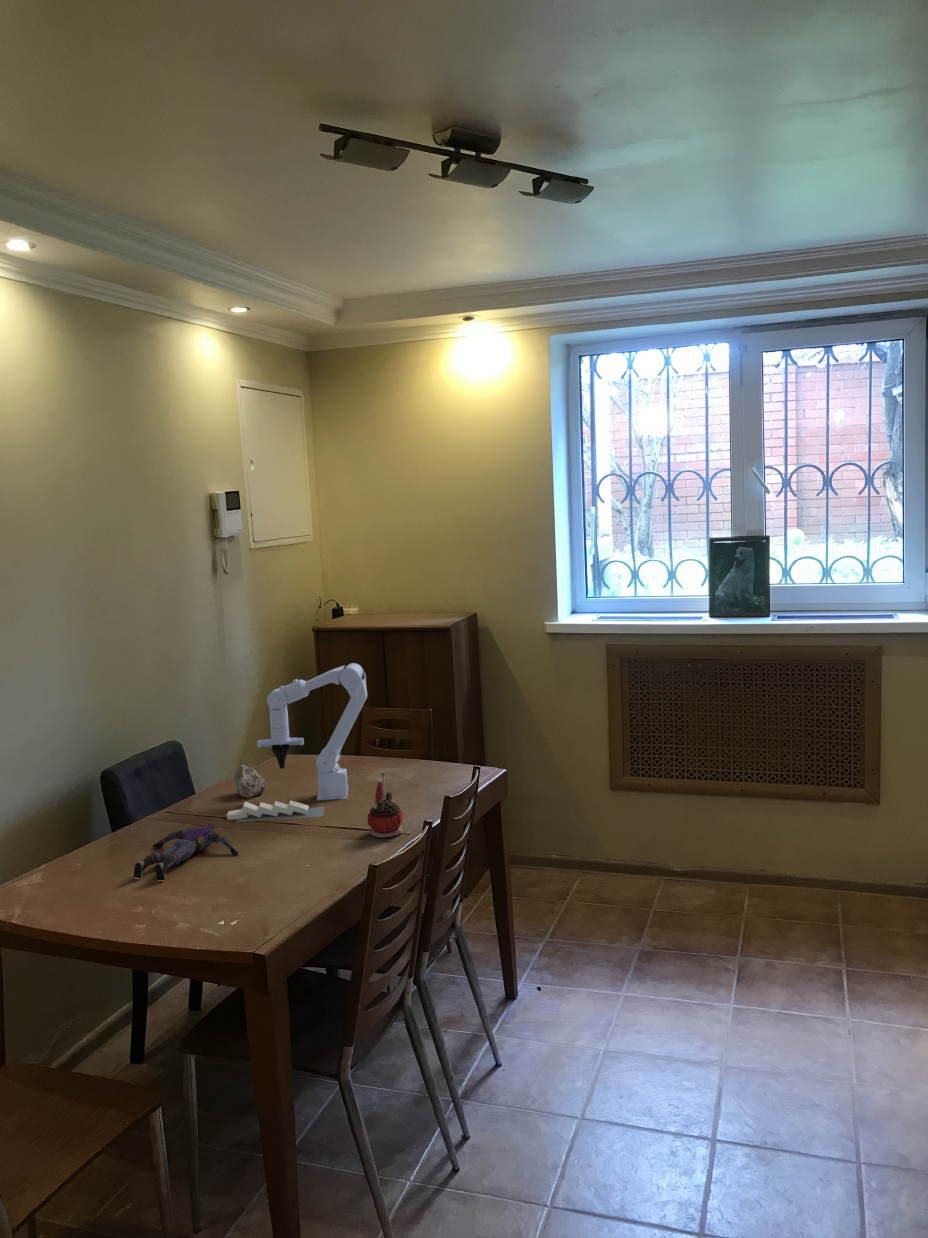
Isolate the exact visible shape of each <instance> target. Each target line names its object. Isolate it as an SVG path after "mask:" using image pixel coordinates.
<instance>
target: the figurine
mask: <svg viewBox="0 0 928 1238" xmlns="http://www.w3.org/2000/svg"><path fill="white" fill-rule="evenodd" d="M174 839H175V841H174V843H173V844H172V845H171V846H170V847H168V848H166V849H165V850H163V851H159V852H152V853H150V854H148V855H147V856H145V858H143V860H139V861H137V862H136V863H135V864H134V867H133V868H134V869H133V878H134V877H136V878H137V877H138V878H141V877H142V878H143V876H144V875H143V874H144V871H146V869H147V868H148V867H150V866H153V865H154V864H156V865H155V866H154V870H155V877H156V879H157V881H158V880H165V879H166V880H167V878H166V877H167V876H166V872H167V871H166V870H167V869H168V868H169V867H171V866H177V865H178V864H180V862H183V861H186V860H188V859H189V858H191V857H192V856H196V855H198V854H199V852H200V851H203V850H202V849H205V850H206V849H207V848H208V847H210V846H211V843H222V844H223V845H224V846H225V847H227V848H228V849H229V850H230V854H231V853H232V854H233V855H236V854H239V852H238V851H237V849H236V847H235V846H234V845H233V843H231V841H230V840H229V838H227V836H225V835H224V834H223V835H222V834H220V833H218V832H217V831H216V830H215V828H214V825H213V823H209V824H208V825H207V826H206V827H193V826H192V827H191V826H189V827H188V828H187V827H186V828H184V829H183V830H182V829H180V830H177V831H175V830H174V831H172V832H169V833H168V834H166V835H165V836H164V837H163V838H161V839H160V840H158V841H157V842H156V843H154V844H152V848H154V847H162V848H163V847H164V845H165V844H167V843H168V842H171V841H173V840H174ZM176 839H177V840H176ZM234 853H235V854H234Z"/></svg>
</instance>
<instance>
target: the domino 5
mask: <svg viewBox="0 0 928 1238" xmlns="http://www.w3.org/2000/svg"><path fill="white" fill-rule="evenodd" d="M287 805H288V808H287V809H289V810H292V811H295V812H299V813H302V814H305V815H306V814H307V811H308V808H310V805H308V804H304V803H302V802H297V801H294V800H291V799H290V800H289V803H288V804H287Z"/></svg>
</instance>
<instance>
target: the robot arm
mask: <svg viewBox="0 0 928 1238" xmlns="http://www.w3.org/2000/svg"><path fill="white" fill-rule="evenodd" d="M329 684H335V685H338V686H339V685H340V684H341V685H342V686H343V687H344V689H346V691H347V693H348V695H349V697H350V699H349V701H348V703H347V705H346V707H345V709H344V710H343V712H342V714H341V716H340V719H339V720H338V723H337V724H336V726H335V729H334V730H333V732H332V735H331V736H330V738H329V740H328V742H327V744H326V745H325V747H324V748H322V750H321V752H320V753H319V754H318V755H317V757H316V758H315V766H316V768H317V780H318V781H317V783H318V793H317V796H316V801H325V800H327V801H328V800H343V799H348V793H349V785H348V774H347V768H342V767H341V766H340V764H339V763H338V762H339V761H340V759H341V751H342V749H343V746H344V744H345V742H346V740H347V738H348V736H349V734H350V731H351V730H352V728H353V727H354V725H355V722H356V720H357V719H358V716H359V714H360V712H361V711H362V708H363V707H364V704H365V702H366V700H367V699H368V690H367V674H366V672H365V671H364V669H363V667H362V666H361V665H360V664H358V663H355V662H352V663H349V664H347V665H342V666H339V667H336V668H333V669H330V670H327V671H326V672H324V673H321V674H320V675H317V676H315V677H313V678H312V679H309V680H304V679H298V678H295V679H293V680H292V682H291V683H289V684H287V685H280V686H279V688H275V689H273V690H272V691H271V692H270V693H269V694H268V696H266V697H267V698H266V703H267V705H268V708H269V724H270V725H269V727H270V738H268V739H259V740H257V742H256V743H257V748H258V749H259V748H264V747H265V748H266V747H271V751H272V753H273V754H274V756H275V759H276V760H277V763H278V766H279V769H285V767H286V759H287V756H288V755H287V754H288V751H289V748H290V747H291V746H304V744H305V741H304V737H290V729H289V728H290V727H289V714H288V713H289V712H288V704H292V703H294V702H297V701H299V700H302V699H303V698H306V697H308V696H309V694H310V691H312V690H315V689H319V688H320V687H323V686H326V685H329Z"/></svg>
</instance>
